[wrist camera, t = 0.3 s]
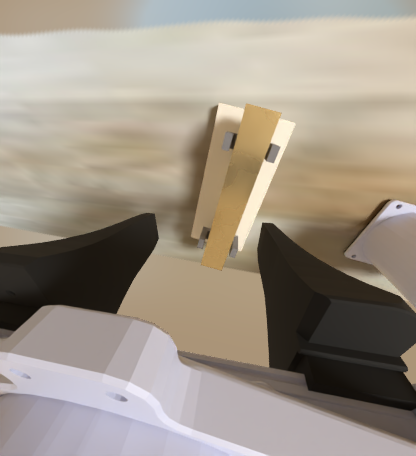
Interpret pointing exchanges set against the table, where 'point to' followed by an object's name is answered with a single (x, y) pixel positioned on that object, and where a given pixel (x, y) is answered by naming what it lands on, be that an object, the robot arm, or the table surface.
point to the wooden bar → (239, 181)
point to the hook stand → (217, 170)
